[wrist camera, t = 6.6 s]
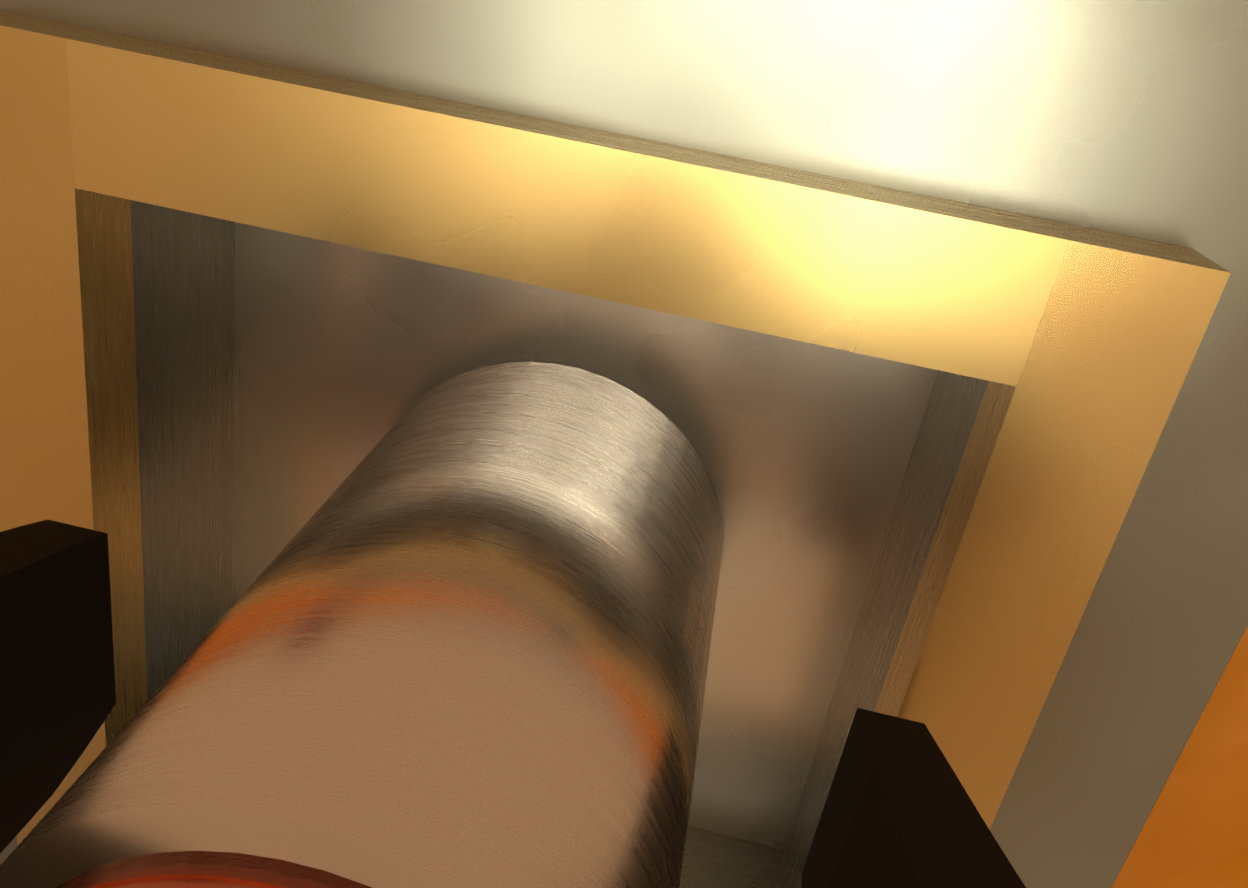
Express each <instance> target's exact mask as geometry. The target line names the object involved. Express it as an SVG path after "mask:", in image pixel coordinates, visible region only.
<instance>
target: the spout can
mask: <svg viewBox="0 0 1248 888" xmlns="http://www.w3.org/2000/svg"><path fill="white" fill-rule="evenodd" d="M722 546H723V530H722V517H721V512H720V507H719V503H718V498H717V495H716V492H715V489H714V487H713V484H712V481H711V478H710V476H709V474H708V472H707V470H706V468H705V466H704V464H703V462H702V461H701V459H700V457H699V455H698V454H697V452H696V451H695V449H694V448H693V447H692V445H691V444H690V442H689V441H688V440H687V438H686V437H685V436H684V434H683V433H682V432H681V431H680V430H679V429H678V428H677V427H676V426H675V425H674V424H673V423H672V421H671V420H670V419H669V418H668V417H666V416H665V415H664V414H663V413H662V412H661V411H659V410H658V409H657V408H656V407H655V406H653V405H652V404H651V403H650V402H648V401H647V400H645V399H644V398H642V397H641V396H639V395H638V394H636V393H635V392H633V391H632V390H630V389H628V388H626V387H624V386H622V385H620V384H618V383H616V382H614V381H612V380H610V379H608V378H606V377H603V376H600V375H598V374H595V373H592V372H589V371H586V370H583V369H579V368H575V367H570V366H566V365H561V364H555V363H544V362H533V361H530V362H507V363H501V364H495V365H489V366H484V367H481V368H477V369H474V370H471V371H468V372H464V373H462V374H460V375H457V376H455V377H453V378H451V379H449V380H447V381H445V382H443V383H441V384H439V385H438V386H436V387H435V388H433V389H432V390H430V391H429V392H427V393H426V394H424V395H423V396H422V397H421V398H420V399H419V400H418V401H416V402H415V403H414V404H413V405H412V406H411V407H410V408H409V409H408V410H407V411H406V412H405V413H404V414H403V415H402V416H401V418H400V419H399V420H398V421H397V422H396V423H395V424H394V425H393V427H392V428H391V429H390V430H389V431H388V432H387V433H386V434H385V435H384V437H383V438H382V439H381V440H380V441H379V442H378V443H377V444H376V446H375V447H374V448H373V449H372V450H371V451H370V452H369V453H368V454H367V456H366V457H365V458H364V459H363V460H362V461H361V462H360V463H359V465H358V466H357V467H356V468H355V469H354V470H353V471H352V472H351V474H350V475H349V476H348V477H347V478H346V479H345V480H344V481H343V482H342V484H341V485H340V486H339V487H338V488H337V489H336V490H335V491H334V493H333V494H332V495H331V496H330V497H329V498H328V499H327V500H326V501H325V503H324V504H323V505H322V506H321V507H320V508H319V509H318V510H317V512H316V513H315V514H314V515H313V516H312V517H311V518H310V519H309V521H308V522H307V523H306V524H305V525H304V526H303V527H302V528H301V529H300V531H299V532H298V533H297V534H296V535H295V536H294V537H293V538H292V540H291V541H290V542H289V543H288V544H287V545H286V546H285V547H284V548H283V550H282V551H281V552H280V553H279V554H278V555H277V556H276V557H275V559H274V560H273V561H272V562H271V563H270V564H269V565H268V566H267V567H266V569H265V570H264V571H263V572H262V573H261V574H260V575H259V576H258V578H257V579H256V580H255V581H254V582H253V583H252V584H251V585H250V587H249V588H248V589H247V590H246V591H245V592H244V593H243V594H242V595H241V597H240V598H239V599H238V600H237V601H236V602H235V603H234V604H233V606H232V607H231V608H230V609H229V610H228V611H227V612H226V613H225V614H224V616H223V617H222V618H221V619H220V620H219V621H218V622H217V623H216V625H215V626H214V627H213V628H212V629H211V630H210V631H209V632H208V634H207V635H206V636H205V637H204V638H203V639H202V640H201V641H200V642H199V644H198V645H197V646H196V647H195V648H194V649H193V650H192V651H191V653H190V654H189V655H188V656H187V657H186V658H185V659H184V660H183V661H182V663H181V664H180V665H179V666H178V667H177V668H176V669H175V670H174V672H173V673H172V674H171V675H170V676H169V677H168V678H167V679H166V680H165V682H164V683H163V684H162V685H161V686H160V687H159V688H158V689H157V691H156V692H155V693H154V694H153V695H152V696H151V697H150V698H149V700H148V701H147V702H146V703H145V704H144V705H143V706H142V707H141V708H140V710H139V711H138V712H137V713H136V714H135V715H134V716H133V717H132V719H131V720H130V721H129V722H128V723H127V724H126V725H125V726H124V727H123V729H122V730H121V731H120V732H119V733H118V734H117V735H116V736H115V738H114V739H113V740H112V741H111V742H110V743H109V744H108V745H107V746H106V748H105V749H104V750H103V751H102V752H101V753H100V754H99V755H98V757H97V758H96V759H95V760H94V761H93V762H92V763H91V764H90V766H89V767H88V768H87V769H86V770H85V771H84V772H83V773H82V774H81V776H80V777H79V778H78V779H77V780H76V781H75V782H74V783H73V785H72V786H71V787H70V788H69V789H68V790H67V791H66V792H65V793H64V795H63V796H62V797H61V798H60V799H59V800H58V801H57V802H56V804H55V805H54V806H53V807H52V808H51V809H50V810H49V811H48V813H47V814H46V815H45V816H44V817H43V818H42V819H41V820H40V821H39V823H38V824H37V825H36V826H35V827H34V828H33V829H32V830H31V832H30V833H29V834H28V835H27V836H26V837H25V838H24V839H23V840H22V842H21V843H20V844H19V845H18V846H17V847H16V848H15V849H14V851H13V852H12V853H11V854H10V855H9V856H8V857H7V858H6V859H5V861H4V862H3V863H2V864H1V865H0V888H680V885H681V877H682V870H683V862H684V854H685V846H686V838H687V830H688V822H689V814H690V806H691V798H692V790H693V782H694V774H695V766H696V758H697V750H698V742H699V734H700V726H701V718H702V710H703V702H704V694H705V686H706V678H707V670H708V662H709V654H710V646H711V638H712V630H713V622H714V614H715V606H716V598H717V590H718V582H719V574H720V566H721V557H722Z"/></svg>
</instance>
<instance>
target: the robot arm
mask: <svg viewBox="0 0 1248 888" xmlns="http://www.w3.org/2000/svg"><path fill="white" fill-rule="evenodd" d="M115 704H116V693H115V673H114V652H113V632H112V612H111V591H110V571H109V551H108V533H104V532H100V531H95V530H91V529H87V528H83V527H78V526H74V525H70V524H65V523H61V522H57V521H52V520H48V519H47V520H43V521H39V522H35V523H31V524H27V525H23V526H20V527H16V528H13V529H9V530H6V531H2V532H0V853H1V852H2V851H3V850H4V849H5V848H6V847H7V846H8V845H9V843H10V842H11V841H12V840H13V839H14V838H15V837H16V836H17V835H18V833H19V832H20V831H21V830H22V829H23V828H24V827H25V826H26V824H27V823H28V822H29V821H30V820H31V819H32V818H33V817H34V815H35V814H36V813H37V812H38V811H39V810H40V809H41V807H42V806H43V805H44V804H45V803H46V802H47V801H48V799H49V798H50V797H51V796H52V795H53V794H54V792H55V791H56V789H57V788H58V787H59V785H60V784H61V782H62V781H63V780H64V778H65V777H66V776H67V774H68V773H69V771H70V770H71V769H72V767H73V766H74V765H75V763H76V762H77V760H78V759H79V758H80V756H81V755H82V754H83V752H84V751H85V749H86V748H87V746H88V745H89V743H90V742H91V740H92V739H93V737H94V736H95V734H96V733H97V731H98V730H99V728H100V727H101V725H102V724H103V722H104V721H105V719H106V718H107V716H108V715H109V713H110V712H111V710H112V709H113V707H114V706H115ZM801 888H1026V886H1025V885H1024V883H1023V882H1022V880H1021V879H1020V877H1019V876H1018V874H1017V873H1016V871H1015V869H1014V868H1013V866H1012V865H1011V863H1010V862H1009V860H1008V858H1007V857H1006V855H1005V854H1004V852H1003V851H1002V849H1001V847H1000V846H999V844H998V843H997V841H996V839H995V838H994V836H993V835H992V833H991V831H990V830H989V828H988V826H987V825H986V823H985V822H984V820H983V818H982V817H981V815H980V814H979V812H978V810H977V809H976V807H975V805H974V804H973V802H972V800H971V799H970V797H969V795H968V794H967V792H966V791H965V789H964V787H963V786H962V784H961V782H960V781H959V779H958V777H957V776H956V774H955V772H954V771H953V769H952V768H951V766H950V764H949V763H948V761H947V759H946V758H945V756H944V754H943V753H942V751H941V750H940V748H939V746H938V745H937V743H936V741H935V740H934V738H933V737H932V735H931V733H930V732H929V730H928V729H927V727H926V725H925V724H924V723H920V722H916V721H912V720H908V719H903V718H899V717H895V716H890V715H886V714H882V713H878V712H873V711H869V710H865V709H860V708H857V710H856V713H855V716H854V719H853V722H852V725H851V728H850V731H849V734H848V737H847V740H846V743H845V746H844V749H843V752H842V755H841V758H840V761H839V764H838V767H837V770H836V773H835V775H834V778H833V781H832V784H831V787H830V790H829V793H828V796H827V799H826V802H825V805H824V808H823V811H822V814H821V817H820V820H819V823H818V826H817V829H816V832H815V835H814V838H813V841H812V844H811V847H810V850H809V853H808V856H807V859H806V862H805V865H804V868H803V871H802V885H801Z"/></svg>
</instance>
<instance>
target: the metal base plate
mask: <svg viewBox="0 0 1248 888" xmlns="http://www.w3.org/2000/svg"><path fill="white" fill-rule="evenodd" d="M530 361H533V362H544V363H555V364H561V365H566V366H570V367H575V368H579V369H583V370H586V371H589V372H592V373H595V374H598V375H600V376H603V377H606V378H608V379H610V380H612V381H614V382H616V383H618V384H620V385H622V386H624V387H626V388H628V389H630V390H632V391H633V392H635V393H636V394H638V395H639V396H641V397H642V398H644V399H645V400H647V401H648V402H650V403H651V404H652V405H653V406H655V407H656V408H657V409H658V410H659V411H661V412H662V413H663V414H664V415H665V416H666V417H668V418H669V419H670V420H671V421H672V423H673V424H674V425H675V426H676V427H677V428H678V429H679V430H680V431H681V432H682V433H683V434H684V436H685V437H686V438H687V440H688V441H689V442H690V444H691V445H692V447H693V448H694V449H695V451H696V452H697V454H698V455H699V457H700V459H701V461H702V462H703V464H704V466H705V468H706V470H707V472H708V474H709V476H710V478H711V481H712V484H713V487H714V489H715V492H716V495H717V498H718V503H719V507H720V512H721V517H722V530H723V546H722V557H721V566H720V574H719V582H718V590H717V598H716V606H715V614H714V622H713V630H712V638H711V646H710V654H709V662H708V670H707V678H706V686H705V694H704V702H703V710H702V718H701V726H700V734H699V742H698V750H697V758H696V766H695V774H694V782H693V790H692V798H691V806H690V814H689V822H688V830H687V838H686V846H685V854H684V862H683V870H682V877H681V885H680V888H801V885H802V871H803V868H804V865H805V862H806V859H807V856H808V853H809V850H810V847H811V844H812V841H813V838H814V835H815V832H816V829H817V826H818V823H819V820H820V817H821V814H822V811H823V808H824V805H825V802H826V799H827V796H828V793H829V790H830V787H831V784H832V781H833V778H834V775H835V773H836V770H837V767H838V764H839V761H840V758H841V755H842V752H843V749H844V746H845V743H846V740H847V737H848V734H849V731H850V728H851V725H852V722H853V719H854V716H855V713H856V710H857V708H860V709H865V710H869V711H873V712H878V713H882V714H886V715H890V716H895V717H899V718H903V719H908V720H912V721H916V722H920V723H924V724H925V725H926V727H927V729H928V730H929V732H930V733H931V735H932V737H933V738H934V740H935V741H936V743H937V745H938V746H939V748H940V750H941V751H942V753H943V754H944V756H945V758H946V759H947V761H948V763H949V764H950V766H951V768H952V769H953V771H954V772H955V774H956V776H957V777H958V779H959V781H960V782H961V784H962V786H963V787H964V789H965V791H966V792H967V794H968V795H969V797H970V799H971V800H972V802H973V804H974V805H975V807H976V809H977V810H978V812H979V814H980V815H981V817H982V818H983V820H984V822H985V823H986V825H987V826H988V828H989V830H990V831H991V833H992V835H993V836H994V838H995V839H996V841H997V843H998V844H999V846H1000V847H1001V849H1002V851H1003V852H1004V854H1005V855H1006V857H1007V858H1008V860H1009V862H1010V863H1011V865H1012V866H1013V868H1014V869H1015V871H1016V873H1017V874H1018V876H1019V877H1020V879H1021V880H1022V882H1023V883H1024V885H1025V886H1026V888H1112V886H1113V884H1114V882H1115V880H1116V878H1117V876H1118V874H1119V872H1120V871H1121V869H1122V867H1123V865H1124V863H1125V861H1126V859H1127V857H1128V855H1129V853H1130V851H1131V849H1132V847H1133V845H1134V844H1135V842H1136V840H1137V838H1138V836H1139V834H1140V832H1141V830H1142V828H1143V826H1144V824H1145V822H1146V820H1147V818H1148V816H1149V815H1150V813H1151V811H1152V809H1153V807H1154V805H1155V803H1156V801H1157V799H1158V797H1159V795H1160V793H1161V791H1162V789H1163V788H1164V786H1165V784H1166V782H1167V780H1168V778H1169V776H1170V774H1171V772H1172V770H1173V768H1174V766H1175V764H1176V762H1177V761H1178V759H1179V757H1180V755H1181V753H1182V751H1183V749H1184V747H1185V745H1186V743H1187V741H1188V739H1189V737H1190V735H1191V733H1192V732H1193V730H1194V728H1195V726H1196V724H1197V722H1198V720H1199V718H1200V716H1201V714H1202V712H1203V710H1204V708H1205V706H1206V705H1207V703H1208V701H1209V699H1210V697H1211V695H1212V693H1213V691H1214V689H1215V687H1216V685H1217V683H1218V681H1219V679H1220V678H1221V676H1222V674H1223V672H1224V670H1225V668H1226V666H1227V664H1228V662H1229V660H1230V658H1231V656H1232V654H1233V652H1234V650H1235V649H1236V647H1237V645H1238V643H1239V641H1240V639H1241V637H1242V635H1243V633H1244V631H1245V629H1246V627H1247V625H1248V0H0V532H2V531H6V530H9V529H13V528H16V527H20V526H23V525H27V524H31V523H35V522H39V521H43V520H47V519H48V520H52V521H57V522H61V523H65V524H70V525H74V526H78V527H83V528H87V529H91V530H95V531H100V532H104V533H108V551H109V571H110V591H111V612H112V632H113V652H114V673H115V693H116V704H115V706H114V707H113V709H112V710H111V712H110V713H109V715H108V716H107V718H106V719H105V721H104V722H103V724H102V725H101V727H100V728H99V730H98V731H97V733H96V734H95V736H94V737H93V739H92V740H91V742H90V743H89V745H88V746H87V748H86V749H85V751H84V752H83V754H82V755H81V756H80V758H79V759H78V760H77V762H76V763H75V765H74V766H73V767H72V769H71V770H70V771H69V773H68V774H67V776H66V777H65V778H64V780H63V781H62V782H61V784H60V785H59V787H58V788H57V789H56V791H55V792H54V794H53V795H52V796H51V797H50V798H49V799H48V801H47V802H46V803H45V804H44V805H43V806H42V807H41V809H40V810H39V811H38V812H37V813H36V814H35V815H34V817H33V818H32V819H31V820H30V821H29V822H28V823H27V824H26V826H25V827H24V828H23V829H22V830H21V831H20V832H19V833H18V835H17V836H16V837H15V838H14V839H13V840H12V841H11V842H10V843H9V845H8V846H7V847H6V848H5V849H4V850H3V851H2V852H1V853H0V865H1V864H2V863H3V862H4V861H5V859H6V858H7V857H8V856H9V855H10V854H11V853H12V852H13V851H14V849H15V848H16V847H17V846H18V845H19V844H20V843H21V842H22V840H23V839H24V838H25V837H26V836H27V835H28V834H29V833H30V832H31V830H32V829H33V828H34V827H35V826H36V825H37V824H38V823H39V821H40V820H41V819H42V818H43V817H44V816H45V815H46V814H47V813H48V811H49V810H50V809H51V808H52V807H53V806H54V805H55V804H56V802H57V801H58V800H59V799H60V798H61V797H62V796H63V795H64V793H65V792H66V791H67V790H68V789H69V788H70V787H71V786H72V785H73V783H74V782H75V781H76V780H77V779H78V778H79V777H80V776H81V774H82V773H83V772H84V771H85V770H86V769H87V768H88V767H89V766H90V764H91V763H92V762H93V761H94V760H95V759H96V758H97V757H98V755H99V754H100V753H101V752H102V751H103V750H104V749H105V748H106V746H107V745H108V744H109V743H110V742H111V741H112V740H113V739H114V738H115V736H116V735H117V734H118V733H119V732H120V731H121V730H122V729H123V727H124V726H125V725H126V724H127V723H128V722H129V721H130V720H131V719H132V717H133V716H134V715H135V714H136V713H137V712H138V711H139V710H140V708H141V707H142V706H143V705H144V704H145V703H146V702H147V701H148V700H149V698H150V697H151V696H152V695H153V694H154V693H155V692H156V691H157V689H158V688H159V687H160V686H161V685H162V684H163V683H164V682H165V680H166V679H167V678H168V677H169V676H170V675H171V674H172V673H173V672H174V670H175V669H176V668H177V667H178V666H179V665H180V664H181V663H182V661H183V660H184V659H185V658H186V657H187V656H188V655H189V654H190V653H191V651H192V650H193V649H194V648H195V647H196V646H197V645H198V644H199V642H200V641H201V640H202V639H203V638H204V637H205V636H206V635H207V634H208V632H209V631H210V630H211V629H212V628H213V627H214V626H215V625H216V623H217V622H218V621H219V620H220V619H221V618H222V617H223V616H224V614H225V613H226V612H227V611H228V610H229V609H230V608H231V607H232V606H233V604H234V603H235V602H236V601H237V600H238V599H239V598H240V597H241V595H242V594H243V593H244V592H245V591H246V590H247V589H248V588H249V587H250V585H251V584H252V583H253V582H254V581H255V580H256V579H257V578H258V576H259V575H260V574H261V573H262V572H263V571H264V570H265V569H266V567H267V566H268V565H269V564H270V563H271V562H272V561H273V560H274V559H275V557H276V556H277V555H278V554H279V553H280V552H281V551H282V550H283V548H284V547H285V546H286V545H287V544H288V543H289V542H290V541H291V540H292V538H293V537H294V536H295V535H296V534H297V533H298V532H299V531H300V529H301V528H302V527H303V526H304V525H305V524H306V523H307V522H308V521H309V519H310V518H311V517H312V516H313V515H314V514H315V513H316V512H317V510H318V509H319V508H320V507H321V506H322V505H323V504H324V503H325V501H326V500H327V499H328V498H329V497H330V496H331V495H332V494H333V493H334V491H335V490H336V489H337V488H338V487H339V486H340V485H341V484H342V482H343V481H344V480H345V479H346V478H347V477H348V476H349V475H350V474H351V472H352V471H353V470H354V469H355V468H356V467H357V466H358V465H359V463H360V462H361V461H362V460H363V459H364V458H365V457H366V456H367V454H368V453H369V452H370V451H371V450H372V449H373V448H374V447H375V446H376V444H377V443H378V442H379V441H380V440H381V439H382V438H383V437H384V435H385V434H386V433H387V432H388V431H389V430H390V429H391V428H392V427H393V425H394V424H395V423H396V422H397V421H398V420H399V419H400V418H401V416H402V415H403V414H404V413H405V412H406V411H407V410H408V409H409V408H410V407H411V406H412V405H413V404H414V403H415V402H416V401H418V400H419V399H420V398H421V397H422V396H423V395H424V394H426V393H427V392H429V391H430V390H432V389H433V388H435V387H436V386H438V385H439V384H441V383H443V382H445V381H447V380H449V379H451V378H453V377H455V376H457V375H460V374H462V373H464V372H468V371H471V370H474V369H477V368H481V367H484V366H489V365H495V364H501V363H507V362H530Z"/></svg>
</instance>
